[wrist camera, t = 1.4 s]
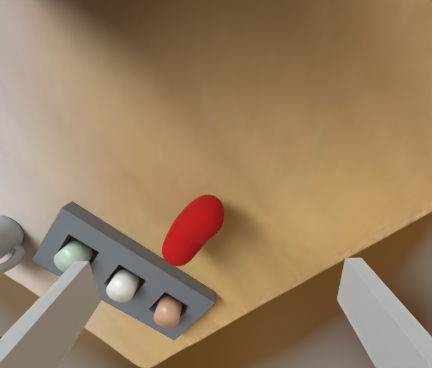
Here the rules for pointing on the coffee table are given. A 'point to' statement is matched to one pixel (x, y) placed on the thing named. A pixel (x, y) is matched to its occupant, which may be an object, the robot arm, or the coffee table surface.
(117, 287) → the cream button
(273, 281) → the coffee table surface
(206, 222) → the heart
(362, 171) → the coffee table surface
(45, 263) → the panel
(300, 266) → the coffee table surface
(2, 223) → the cup
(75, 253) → the sage button
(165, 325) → the peach button
